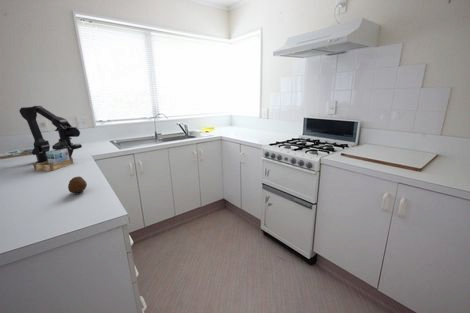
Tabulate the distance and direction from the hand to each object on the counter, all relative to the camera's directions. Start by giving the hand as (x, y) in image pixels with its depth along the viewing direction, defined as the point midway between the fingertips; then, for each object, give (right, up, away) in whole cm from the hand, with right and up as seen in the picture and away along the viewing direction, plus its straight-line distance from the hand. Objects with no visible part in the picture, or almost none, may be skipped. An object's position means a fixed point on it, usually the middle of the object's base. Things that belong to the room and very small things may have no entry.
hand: (69, 158), depth 162 cm
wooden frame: (-2, -6, -11) cm, 13 cm away
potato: (+45, -17, -54) cm, 72 cm away
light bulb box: (-1, -5, -7) cm, 9 cm away
